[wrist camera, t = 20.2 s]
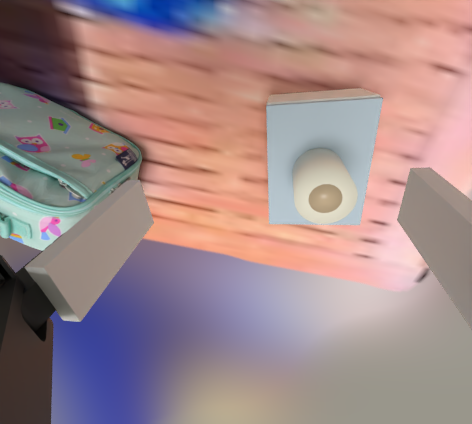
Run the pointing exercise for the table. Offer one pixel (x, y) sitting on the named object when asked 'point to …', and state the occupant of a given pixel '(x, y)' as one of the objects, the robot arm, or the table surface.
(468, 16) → the table surface
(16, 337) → the robot arm
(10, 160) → the lunch box
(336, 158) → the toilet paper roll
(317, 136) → the lid
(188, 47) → the table surface
